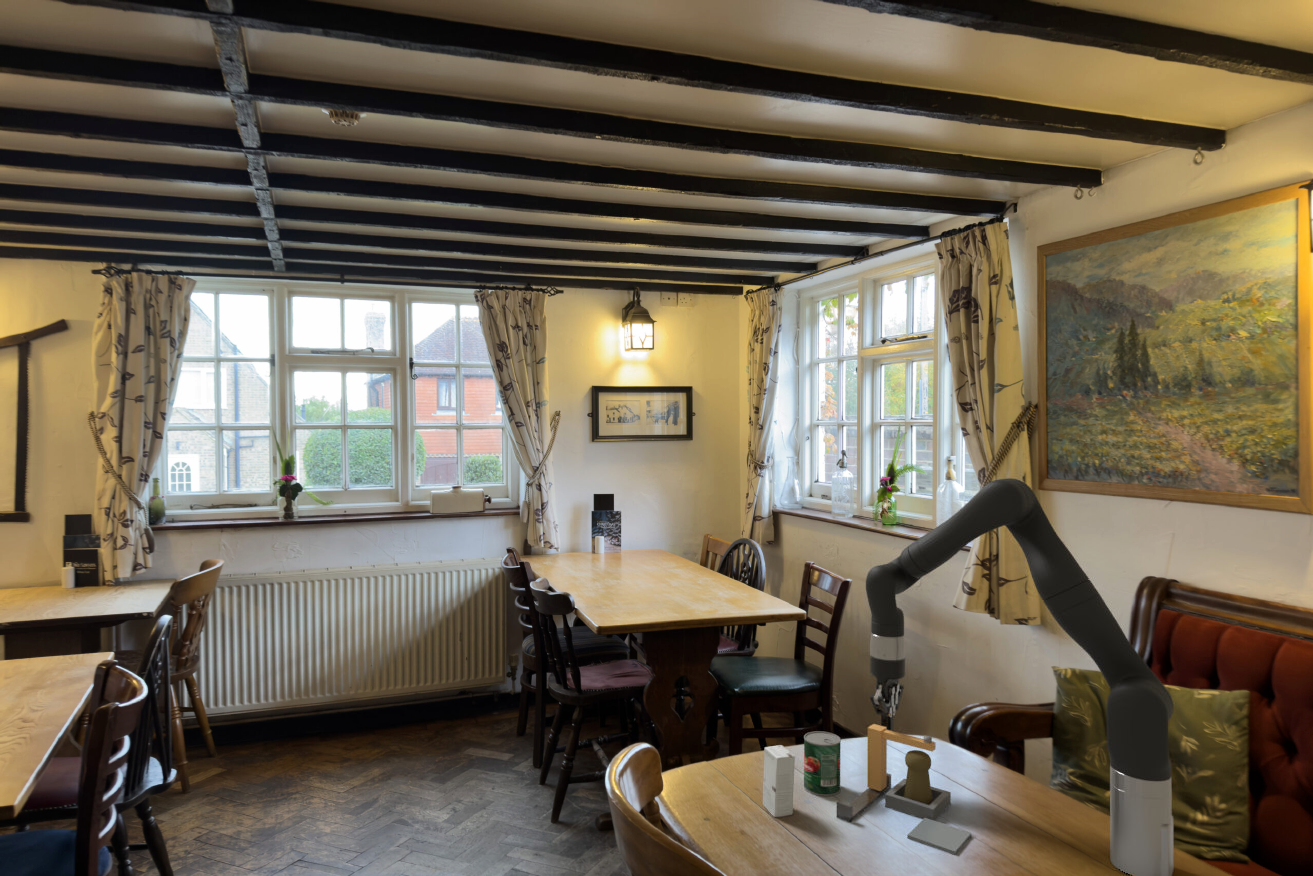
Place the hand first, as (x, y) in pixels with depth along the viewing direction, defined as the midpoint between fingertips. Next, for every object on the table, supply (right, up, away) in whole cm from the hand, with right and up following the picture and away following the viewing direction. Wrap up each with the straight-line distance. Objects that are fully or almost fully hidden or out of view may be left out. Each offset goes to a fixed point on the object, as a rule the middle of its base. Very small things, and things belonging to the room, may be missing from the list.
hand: (887, 732), depth 167 cm
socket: (+3, -11, -10) cm, 16 cm away
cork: (+3, -12, -10) cm, 16 cm away
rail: (-7, -11, -9) cm, 16 cm away
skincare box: (-26, -11, -13) cm, 31 cm away
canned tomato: (-15, -12, -2) cm, 19 cm away
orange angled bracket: (+1, -10, -8) cm, 13 cm away
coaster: (+3, -11, -23) cm, 26 cm away
